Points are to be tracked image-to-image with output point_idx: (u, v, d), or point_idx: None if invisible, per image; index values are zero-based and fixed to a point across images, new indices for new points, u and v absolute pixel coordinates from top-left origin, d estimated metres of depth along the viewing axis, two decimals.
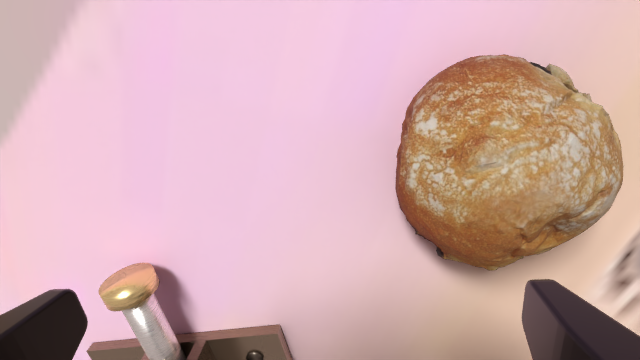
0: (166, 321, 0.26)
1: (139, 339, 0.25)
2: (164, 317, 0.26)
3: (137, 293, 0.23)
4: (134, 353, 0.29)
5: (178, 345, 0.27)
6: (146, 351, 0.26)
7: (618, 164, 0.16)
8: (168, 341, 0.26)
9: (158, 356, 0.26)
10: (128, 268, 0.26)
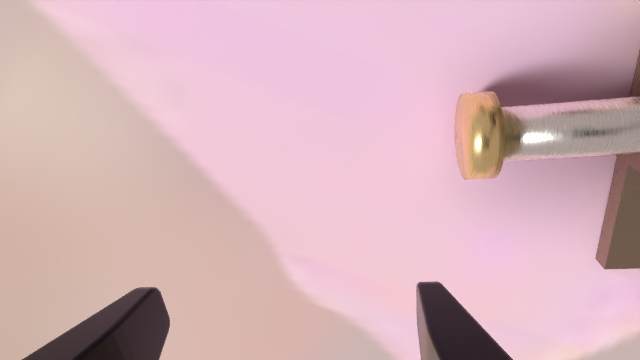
0: None
1: (587, 148, 0.14)
2: (562, 102, 0.15)
3: (481, 113, 0.14)
4: (637, 197, 0.17)
5: (638, 96, 0.14)
6: (620, 145, 0.14)
7: None
8: (616, 103, 0.14)
9: None
10: (456, 140, 0.16)
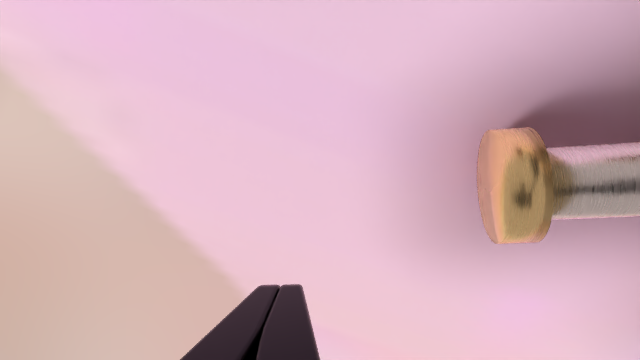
0: None
1: None
2: (626, 143, 0.11)
3: (521, 161, 0.10)
4: None
5: None
6: None
7: None
8: None
9: None
10: (479, 186, 0.13)
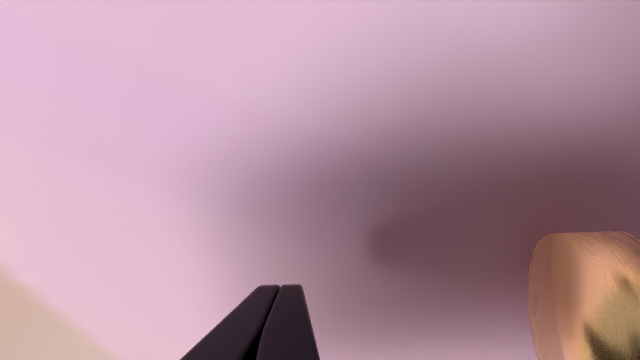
0: None
1: None
2: None
3: None
4: None
5: None
6: None
7: None
8: None
9: None
10: (534, 308, 0.08)
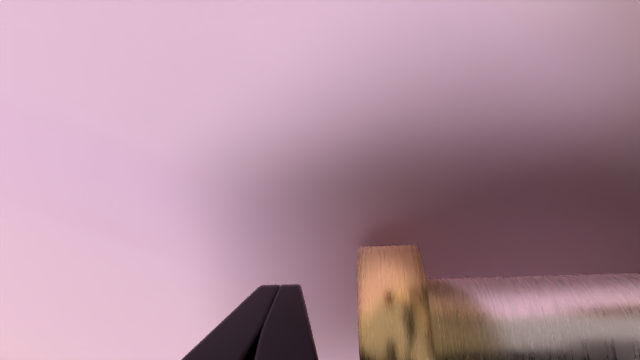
0: (602, 279, 0.06)
1: None
2: (579, 279, 0.06)
3: (383, 334, 0.06)
4: None
5: None
6: None
7: None
8: None
9: None
10: None
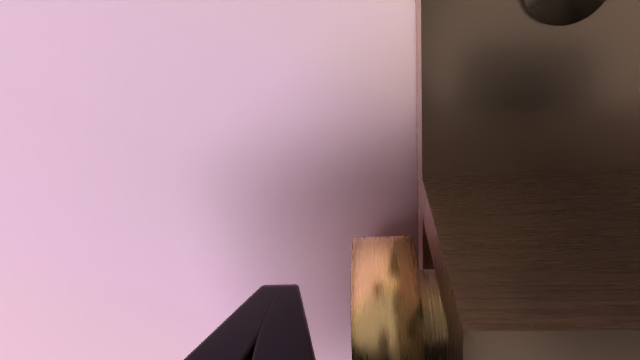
0: None
1: None
2: None
3: (375, 321, 0.06)
4: None
5: None
6: None
7: None
8: None
9: None
10: None
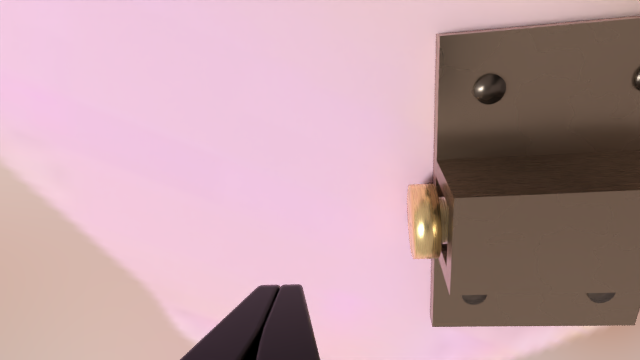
0: None
1: None
2: None
3: (423, 208, 0.16)
4: None
5: None
6: None
7: None
8: None
9: None
10: (408, 219, 0.19)
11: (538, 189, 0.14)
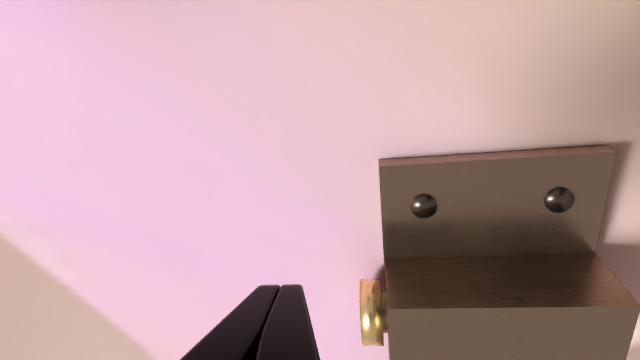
0: None
1: None
2: None
3: (367, 308, 0.19)
4: None
5: None
6: None
7: None
8: None
9: None
10: None
11: (457, 301, 0.17)
